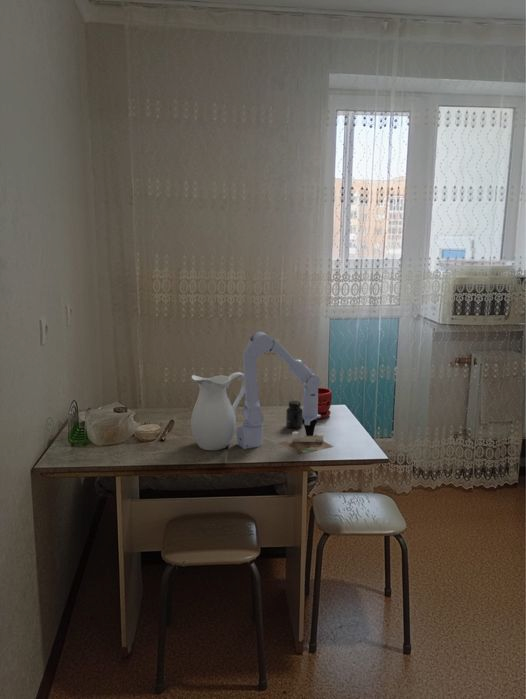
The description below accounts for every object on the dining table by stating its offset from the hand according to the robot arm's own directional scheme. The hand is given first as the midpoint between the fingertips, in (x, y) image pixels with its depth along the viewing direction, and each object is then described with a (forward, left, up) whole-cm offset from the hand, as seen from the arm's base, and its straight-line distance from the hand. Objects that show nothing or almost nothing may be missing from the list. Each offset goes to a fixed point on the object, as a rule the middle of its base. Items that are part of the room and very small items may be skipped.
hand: (309, 437), depth 207 cm
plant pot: (+23, +27, -2) cm, 36 cm away
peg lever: (-3, -3, 0) cm, 4 cm away
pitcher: (-31, +16, -2) cm, 35 cm away
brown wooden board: (-5, -4, -2) cm, 7 cm away
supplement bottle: (+3, +16, -2) cm, 16 cm away
